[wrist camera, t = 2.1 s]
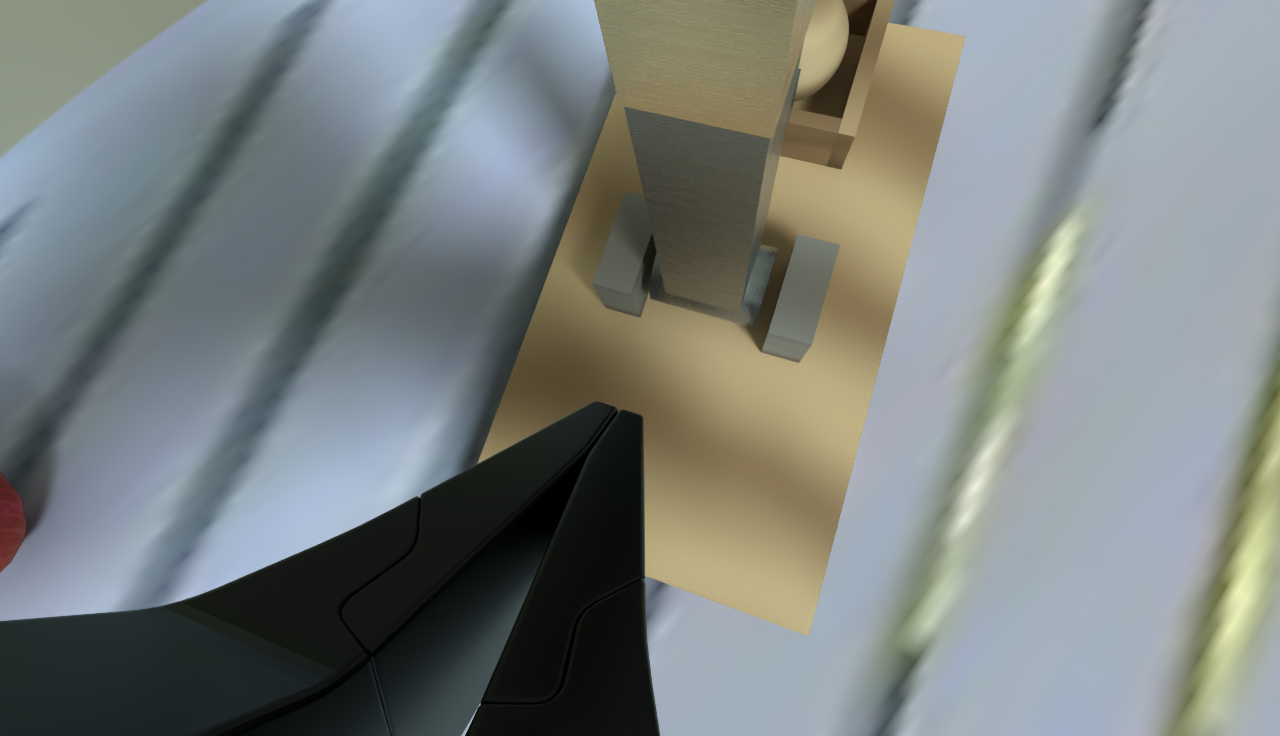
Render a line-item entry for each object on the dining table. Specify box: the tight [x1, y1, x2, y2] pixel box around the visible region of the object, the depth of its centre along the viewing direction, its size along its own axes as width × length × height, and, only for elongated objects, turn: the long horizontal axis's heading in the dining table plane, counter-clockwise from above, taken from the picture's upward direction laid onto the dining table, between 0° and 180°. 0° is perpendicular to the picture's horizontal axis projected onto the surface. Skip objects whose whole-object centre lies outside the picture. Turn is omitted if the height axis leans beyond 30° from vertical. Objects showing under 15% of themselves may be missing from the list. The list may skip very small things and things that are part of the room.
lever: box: [594, 0, 816, 328], centre depth 12 cm, size 5×3×14 cm, turn 162°
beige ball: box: [794, 0, 849, 102], centre depth 18 cm, size 4×4×4 cm
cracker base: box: [477, 0, 966, 636], centre depth 18 cm, size 20×11×4 cm, turn 162°
